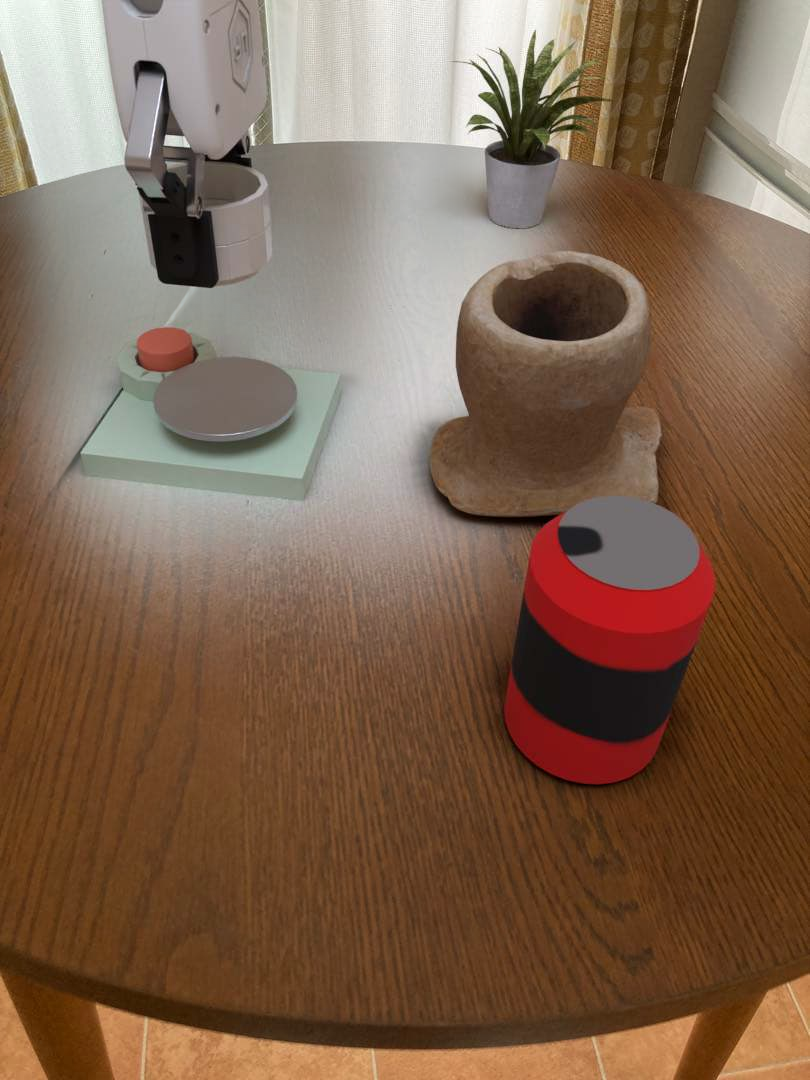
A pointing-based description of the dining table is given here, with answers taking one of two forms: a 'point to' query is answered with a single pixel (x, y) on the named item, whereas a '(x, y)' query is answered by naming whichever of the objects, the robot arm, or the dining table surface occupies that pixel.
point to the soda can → (605, 637)
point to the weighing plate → (225, 399)
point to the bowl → (232, 219)
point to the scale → (224, 466)
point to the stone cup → (549, 390)
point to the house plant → (526, 136)
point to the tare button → (165, 349)
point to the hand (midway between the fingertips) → (210, 250)
